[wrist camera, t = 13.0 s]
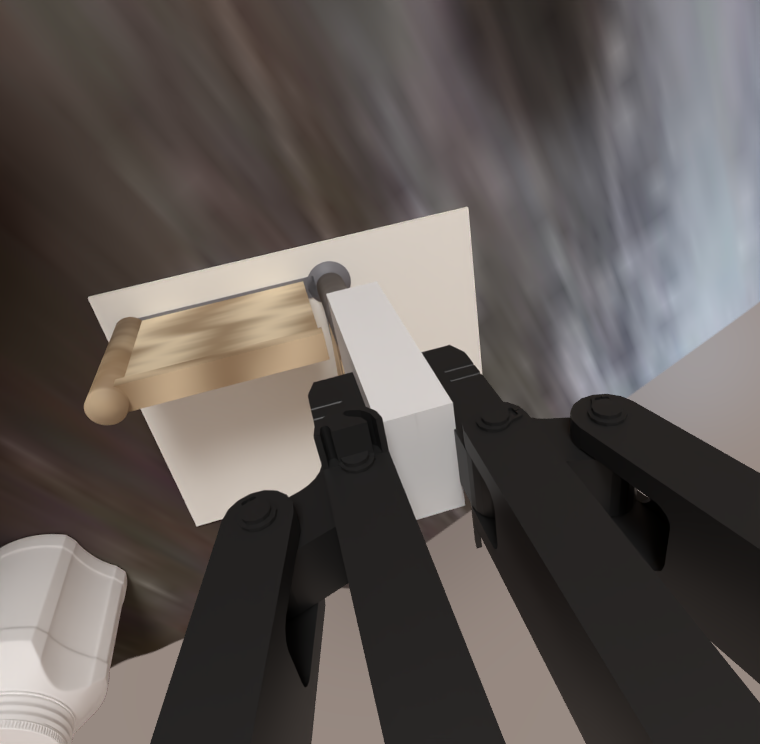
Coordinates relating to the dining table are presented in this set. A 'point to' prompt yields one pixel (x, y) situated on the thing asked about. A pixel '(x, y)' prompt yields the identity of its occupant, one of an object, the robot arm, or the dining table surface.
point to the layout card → (291, 388)
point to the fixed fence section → (204, 350)
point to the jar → (54, 637)
